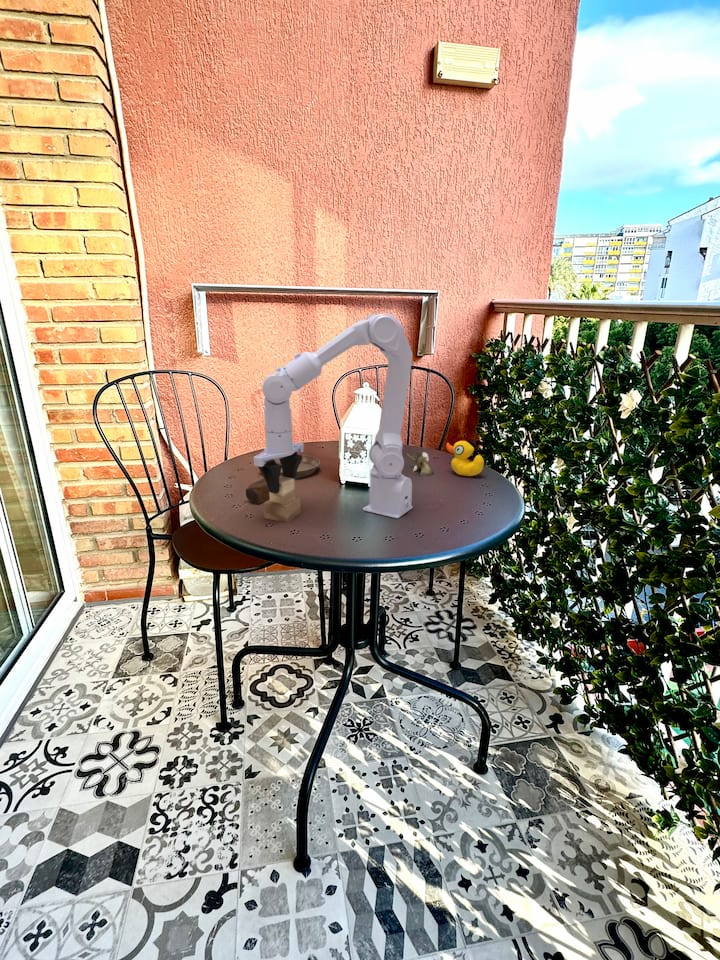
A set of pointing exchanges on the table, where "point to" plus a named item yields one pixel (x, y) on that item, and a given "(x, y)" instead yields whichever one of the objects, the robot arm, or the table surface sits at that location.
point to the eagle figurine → (422, 463)
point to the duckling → (460, 461)
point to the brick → (258, 492)
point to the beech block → (284, 491)
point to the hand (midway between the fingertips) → (281, 489)
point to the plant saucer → (304, 466)
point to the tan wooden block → (282, 510)
